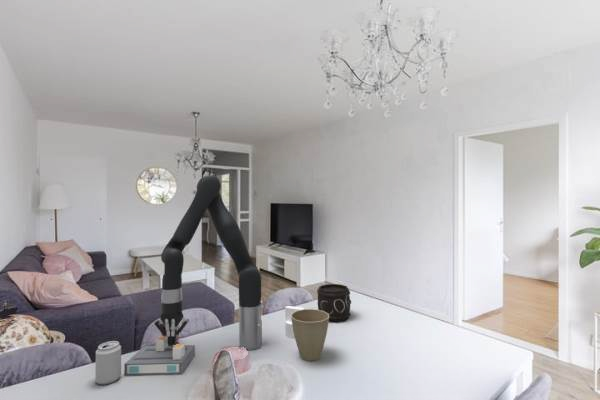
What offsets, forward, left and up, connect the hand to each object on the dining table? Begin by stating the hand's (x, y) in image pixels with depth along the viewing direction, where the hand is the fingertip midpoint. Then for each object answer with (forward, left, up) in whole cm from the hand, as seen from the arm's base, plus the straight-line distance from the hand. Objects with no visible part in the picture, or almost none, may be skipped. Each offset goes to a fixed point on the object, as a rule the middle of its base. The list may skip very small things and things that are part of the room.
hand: (171, 345), depth 118 cm
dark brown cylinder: (-69, -43, -6) cm, 81 cm away
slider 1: (+4, 0, -1) cm, 4 cm away
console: (+2, +3, -6) cm, 7 cm away
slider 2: (-5, +7, -1) cm, 9 cm away
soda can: (+6, -14, -6) cm, 17 cm away
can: (+16, +13, -6) cm, 22 cm away
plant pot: (-54, 0, -6) cm, 54 cm away
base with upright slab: (-48, -22, -6) cm, 53 cm away
